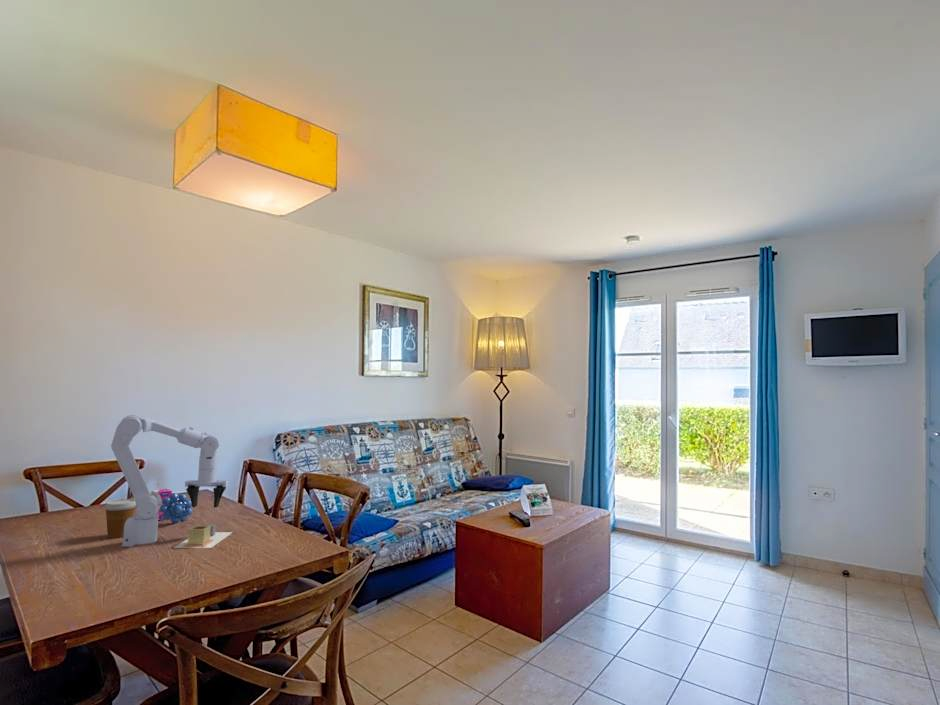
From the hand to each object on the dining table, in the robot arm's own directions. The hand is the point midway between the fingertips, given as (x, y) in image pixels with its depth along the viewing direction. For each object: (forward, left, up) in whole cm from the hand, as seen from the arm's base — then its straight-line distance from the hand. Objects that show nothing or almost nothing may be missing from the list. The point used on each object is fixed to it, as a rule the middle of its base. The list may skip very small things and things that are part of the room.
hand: (205, 506), depth 183 cm
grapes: (-18, +16, -11) cm, 26 cm away
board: (+3, -7, -10) cm, 13 cm away
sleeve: (+3, -11, -9) cm, 15 cm away
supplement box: (-28, +23, -11) cm, 38 cm away
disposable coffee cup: (-30, 0, -11) cm, 32 cm away
